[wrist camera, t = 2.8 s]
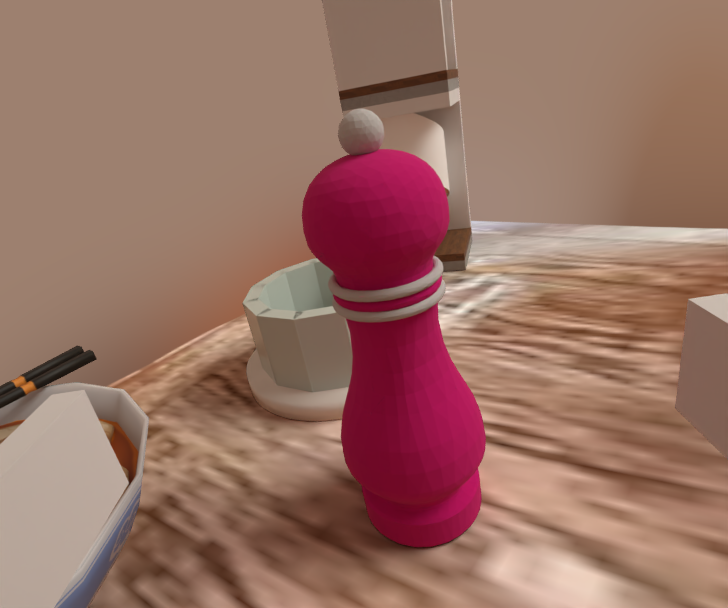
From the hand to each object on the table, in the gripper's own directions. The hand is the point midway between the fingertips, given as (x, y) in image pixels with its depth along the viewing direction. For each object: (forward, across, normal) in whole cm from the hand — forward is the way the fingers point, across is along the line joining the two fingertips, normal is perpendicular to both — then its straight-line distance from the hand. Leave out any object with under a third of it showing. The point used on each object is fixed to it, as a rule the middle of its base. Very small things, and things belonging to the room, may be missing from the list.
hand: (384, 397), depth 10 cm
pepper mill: (+10, 0, -14) cm, 18 cm away
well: (+26, -4, -14) cm, 30 cm away
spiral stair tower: (+50, +6, -14) cm, 52 cm away
